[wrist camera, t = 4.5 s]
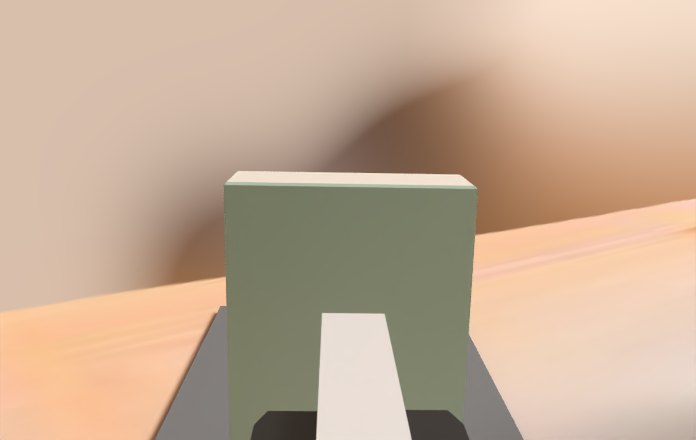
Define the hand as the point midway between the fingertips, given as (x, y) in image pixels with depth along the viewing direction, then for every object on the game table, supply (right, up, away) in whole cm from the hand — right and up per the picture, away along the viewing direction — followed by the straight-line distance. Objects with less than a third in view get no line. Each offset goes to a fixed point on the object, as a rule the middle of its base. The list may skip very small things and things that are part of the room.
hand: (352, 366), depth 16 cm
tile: (0, -7, +9) cm, 11 cm away
